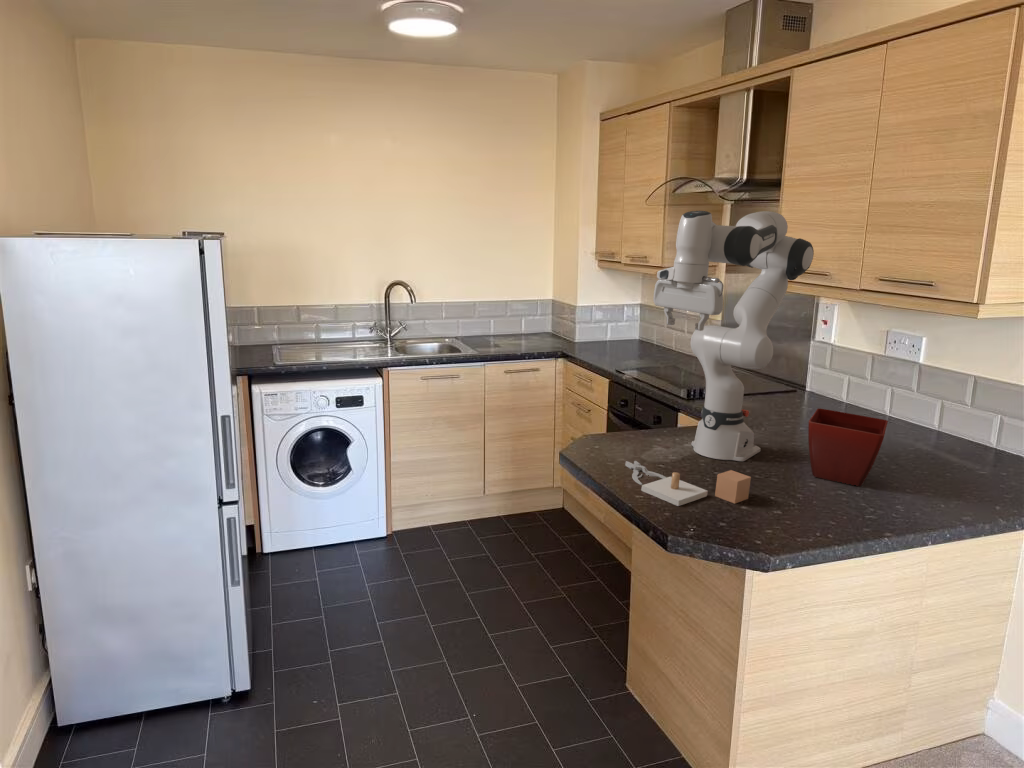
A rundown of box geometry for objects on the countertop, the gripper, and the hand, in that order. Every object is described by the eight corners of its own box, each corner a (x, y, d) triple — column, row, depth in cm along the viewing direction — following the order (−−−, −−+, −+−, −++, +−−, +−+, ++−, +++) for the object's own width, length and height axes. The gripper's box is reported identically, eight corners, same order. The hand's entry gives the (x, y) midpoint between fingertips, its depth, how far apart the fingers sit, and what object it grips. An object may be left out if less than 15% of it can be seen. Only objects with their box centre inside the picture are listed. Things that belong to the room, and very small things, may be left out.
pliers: (640, 480, 189) (615, 461, 203) (639, 486, 189) (614, 467, 203) (672, 478, 192) (645, 459, 206) (672, 483, 193) (645, 464, 206)
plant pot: (878, 474, 208) (888, 419, 204) (873, 494, 192) (884, 435, 188) (809, 460, 217) (817, 407, 213) (799, 478, 201) (807, 421, 197)
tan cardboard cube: (728, 491, 188) (731, 470, 187) (748, 498, 184) (751, 477, 182) (714, 495, 185) (717, 474, 183) (734, 503, 180) (737, 481, 179)
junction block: (670, 481, 193) (672, 462, 192) (707, 496, 184) (709, 476, 183) (641, 490, 186) (643, 470, 184) (678, 506, 177) (680, 485, 175)
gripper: (731, 278, 178) (724, 332, 181) (667, 271, 193) (662, 321, 197) (716, 279, 174) (710, 334, 177) (652, 271, 190) (647, 322, 193)
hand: (684, 327), depth 187 cm, fingers open, 8 cm apart
